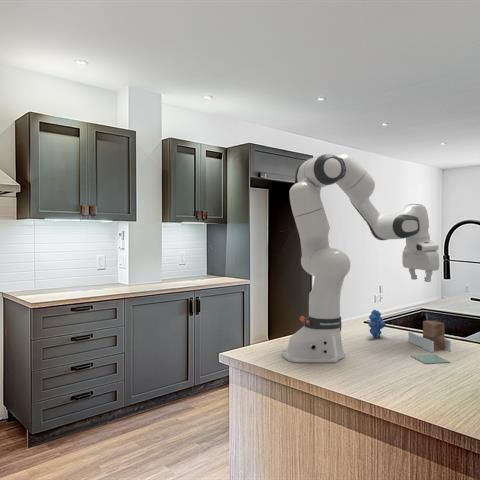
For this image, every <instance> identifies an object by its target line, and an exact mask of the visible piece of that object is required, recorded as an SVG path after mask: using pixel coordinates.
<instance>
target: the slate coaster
mask: <svg viewBox="0 0 480 480" xmlns="http://www.w3.org/2000/svg"><path fill="white" fill-rule="evenodd" d="M410 357H411V358H412V357H413V359H414V358H415V359H414V360H416V359H417V360H416V361H418V362H421V363H422V364H424V365H434V364H437V365H438V364H448V363H449V364H450V363H451V361H450V360H447V359H445V358H444V357H441V356H439V355H436V354H433V353H432V354H431V353H430V354H416V355H410Z"/></svg>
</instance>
